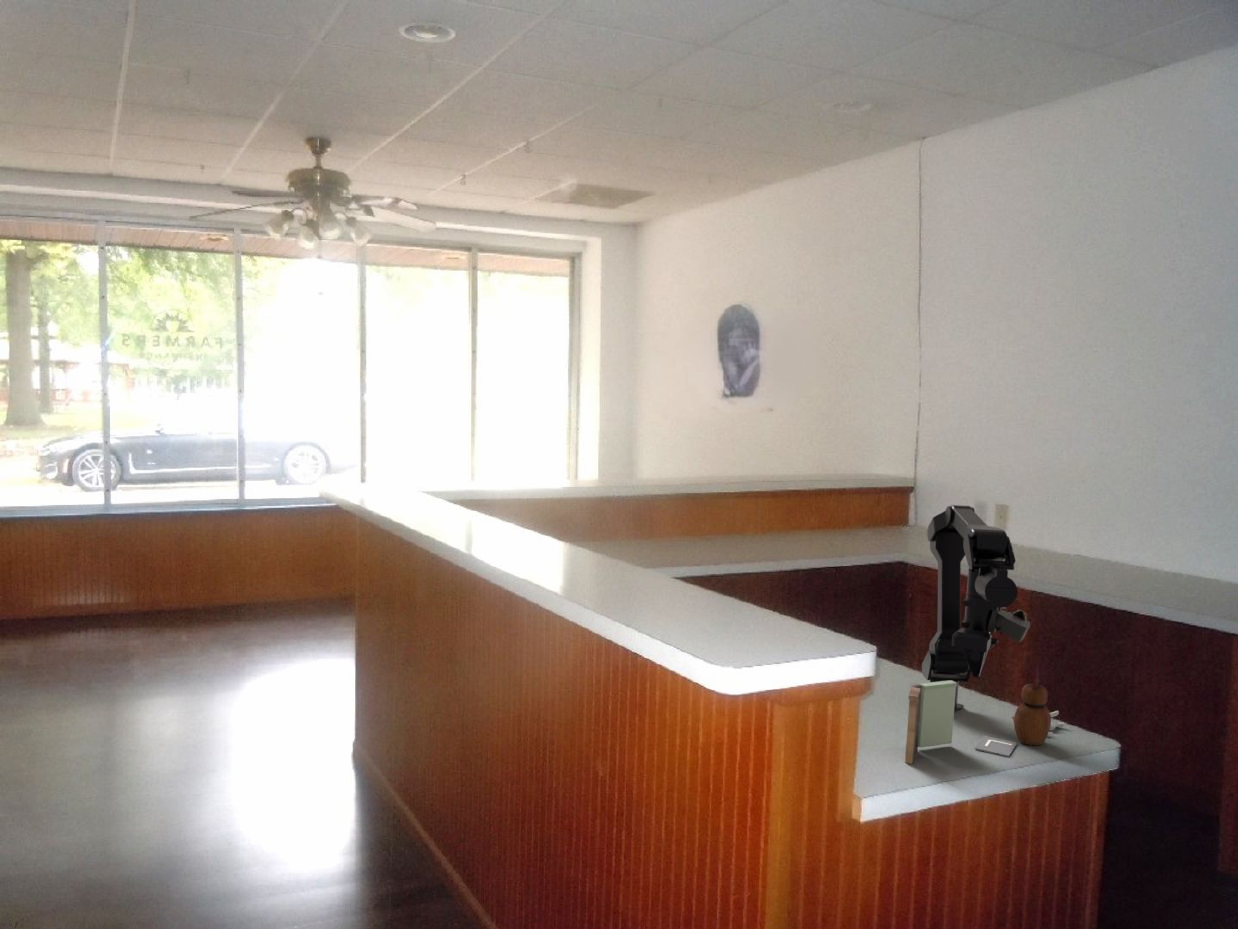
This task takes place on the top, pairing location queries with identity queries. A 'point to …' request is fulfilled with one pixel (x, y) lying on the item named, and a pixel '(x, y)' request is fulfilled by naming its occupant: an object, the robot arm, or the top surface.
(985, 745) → the card
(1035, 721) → the wooden figurine
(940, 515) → the robot arm
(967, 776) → the top surface
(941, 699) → the pale green rectangular panel
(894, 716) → the top surface
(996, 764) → the top surface
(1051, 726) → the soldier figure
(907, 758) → the brown upright slab
